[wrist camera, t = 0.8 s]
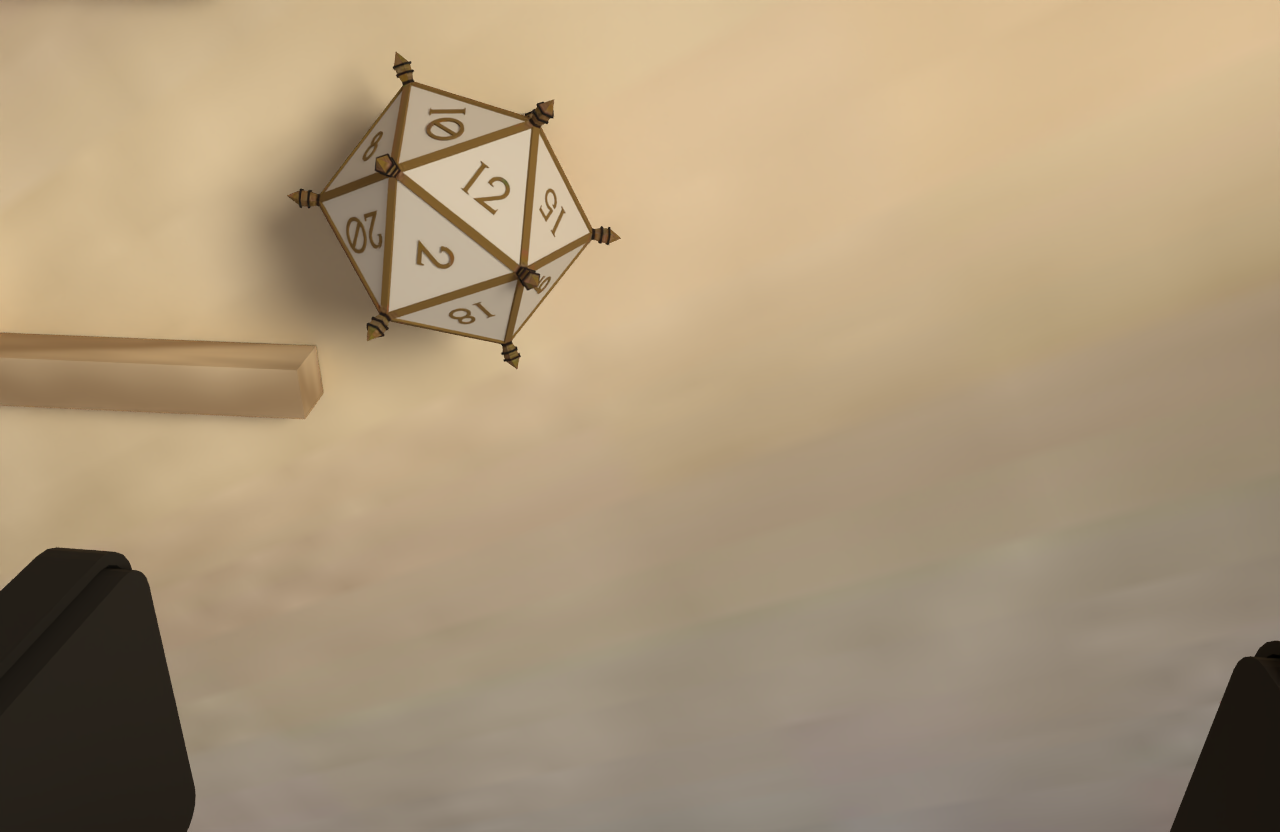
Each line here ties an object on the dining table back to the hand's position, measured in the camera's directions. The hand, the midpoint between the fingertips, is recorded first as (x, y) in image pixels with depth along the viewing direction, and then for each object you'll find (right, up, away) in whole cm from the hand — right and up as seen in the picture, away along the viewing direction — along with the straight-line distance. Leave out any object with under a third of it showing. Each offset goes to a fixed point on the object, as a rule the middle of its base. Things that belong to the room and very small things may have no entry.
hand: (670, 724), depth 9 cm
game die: (-6, +11, +25) cm, 28 cm away
